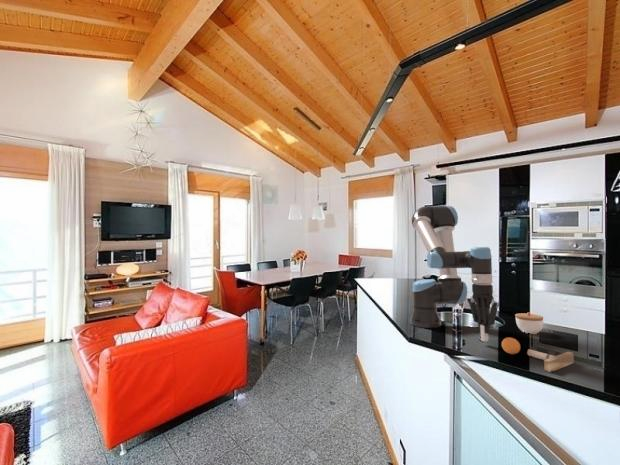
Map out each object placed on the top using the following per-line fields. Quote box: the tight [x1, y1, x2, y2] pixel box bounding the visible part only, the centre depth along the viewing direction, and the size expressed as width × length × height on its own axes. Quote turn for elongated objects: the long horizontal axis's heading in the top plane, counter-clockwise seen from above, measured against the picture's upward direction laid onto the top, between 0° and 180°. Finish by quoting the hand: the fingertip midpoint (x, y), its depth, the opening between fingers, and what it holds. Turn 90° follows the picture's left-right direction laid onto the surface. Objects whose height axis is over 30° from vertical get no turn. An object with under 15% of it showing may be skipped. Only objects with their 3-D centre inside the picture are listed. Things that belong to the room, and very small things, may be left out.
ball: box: [501, 337, 521, 355], centre depth 115 cm, size 6×6×6 cm
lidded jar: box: [514, 311, 544, 335], centre depth 142 cm, size 11×11×9 cm
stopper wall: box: [543, 351, 575, 373], centre depth 102 cm, size 2×16×4 cm, turn 117°
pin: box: [526, 348, 555, 361], centre depth 109 cm, size 2×2×8 cm
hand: (484, 340), depth 125 cm, fingers closed
